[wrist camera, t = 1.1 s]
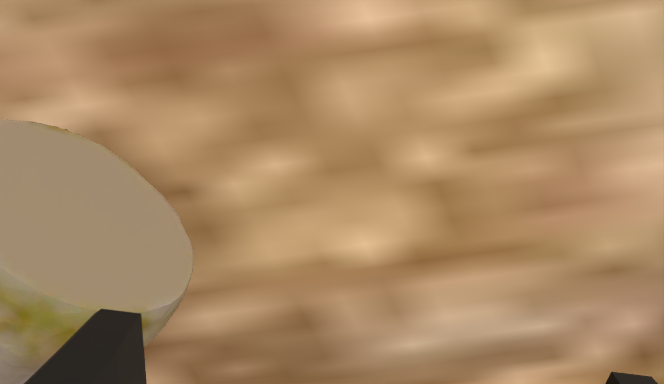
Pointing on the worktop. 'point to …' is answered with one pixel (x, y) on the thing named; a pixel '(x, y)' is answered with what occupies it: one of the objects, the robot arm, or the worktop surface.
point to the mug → (78, 244)
